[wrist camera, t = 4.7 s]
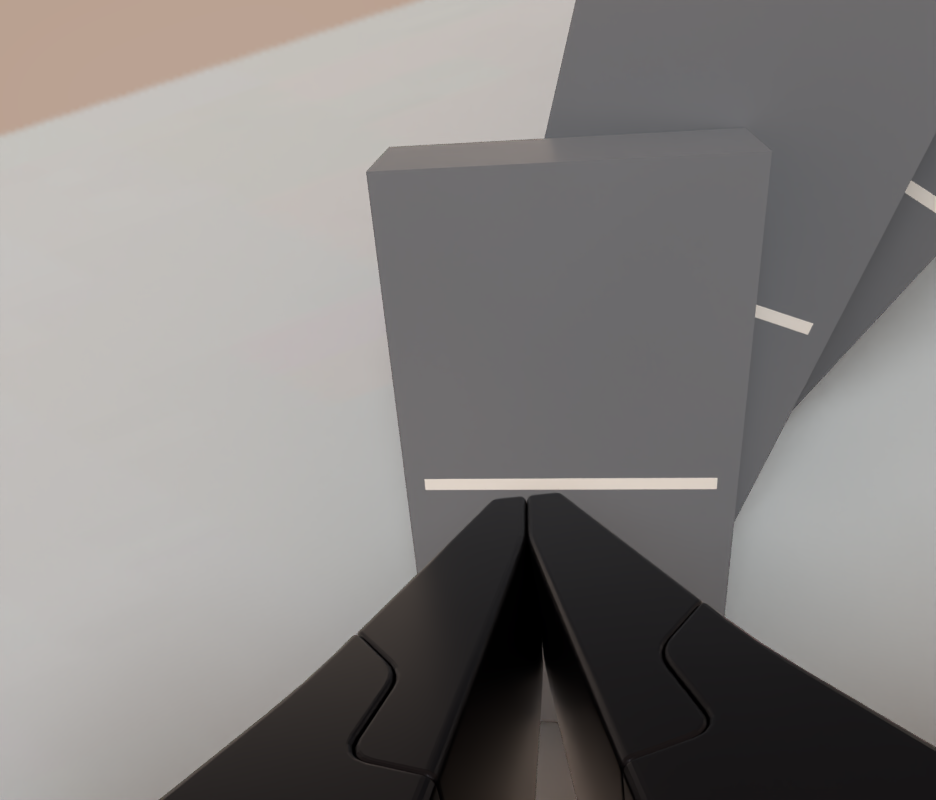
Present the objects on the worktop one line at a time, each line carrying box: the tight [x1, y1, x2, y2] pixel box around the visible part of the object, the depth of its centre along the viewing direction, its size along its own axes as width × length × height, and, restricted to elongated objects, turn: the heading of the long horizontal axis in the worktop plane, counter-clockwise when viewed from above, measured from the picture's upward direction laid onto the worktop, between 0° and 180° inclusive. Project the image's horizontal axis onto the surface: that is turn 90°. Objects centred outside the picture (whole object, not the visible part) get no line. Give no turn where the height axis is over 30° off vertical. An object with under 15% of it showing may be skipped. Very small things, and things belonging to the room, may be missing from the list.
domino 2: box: [544, 0, 936, 521], centre depth 13 cm, size 2×5×10 cm
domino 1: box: [366, 128, 772, 722], centre depth 13 cm, size 2×5×10 cm
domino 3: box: [792, 133, 936, 410], centre depth 13 cm, size 2×5×10 cm
